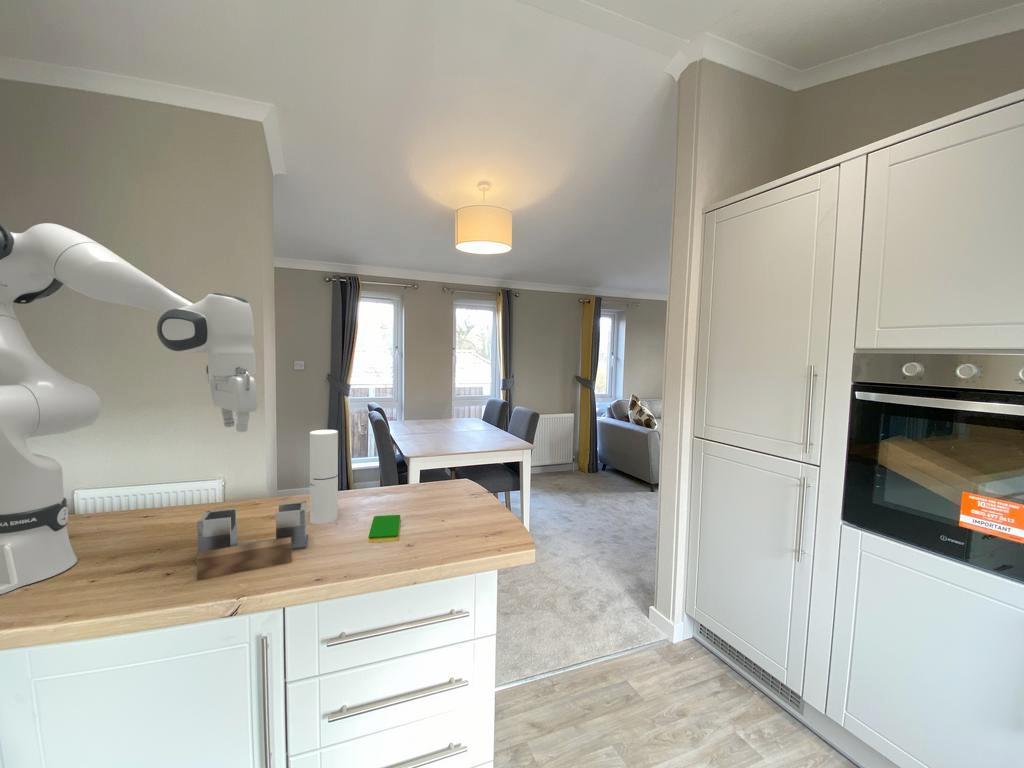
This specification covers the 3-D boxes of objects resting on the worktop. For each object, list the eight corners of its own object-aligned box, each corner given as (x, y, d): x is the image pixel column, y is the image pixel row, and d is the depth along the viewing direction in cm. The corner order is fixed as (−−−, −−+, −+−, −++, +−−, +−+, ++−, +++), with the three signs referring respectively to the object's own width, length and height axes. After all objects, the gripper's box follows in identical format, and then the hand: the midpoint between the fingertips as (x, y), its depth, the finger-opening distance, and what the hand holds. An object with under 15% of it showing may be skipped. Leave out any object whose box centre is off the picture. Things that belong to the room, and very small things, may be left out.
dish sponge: (368, 546, 104) (368, 536, 104) (374, 524, 118) (374, 515, 118) (397, 544, 106) (398, 534, 106) (400, 522, 119) (400, 514, 119)
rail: (197, 583, 86) (196, 559, 85) (199, 575, 89) (199, 552, 88) (291, 564, 94) (291, 542, 94) (291, 558, 97) (290, 536, 97)
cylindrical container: (327, 526, 115) (327, 435, 113) (304, 523, 116) (303, 433, 114) (343, 516, 122) (343, 430, 120) (321, 513, 123) (320, 429, 121)
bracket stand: (195, 565, 92) (194, 522, 92) (204, 551, 99) (203, 511, 98) (307, 549, 101) (307, 510, 100) (308, 537, 107) (308, 500, 107)
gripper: (264, 368, 89) (267, 432, 90) (235, 366, 103) (237, 422, 104) (229, 368, 85) (233, 436, 86) (203, 367, 98) (206, 425, 99)
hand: (235, 429), depth 95 cm, fingers open, 8 cm apart
